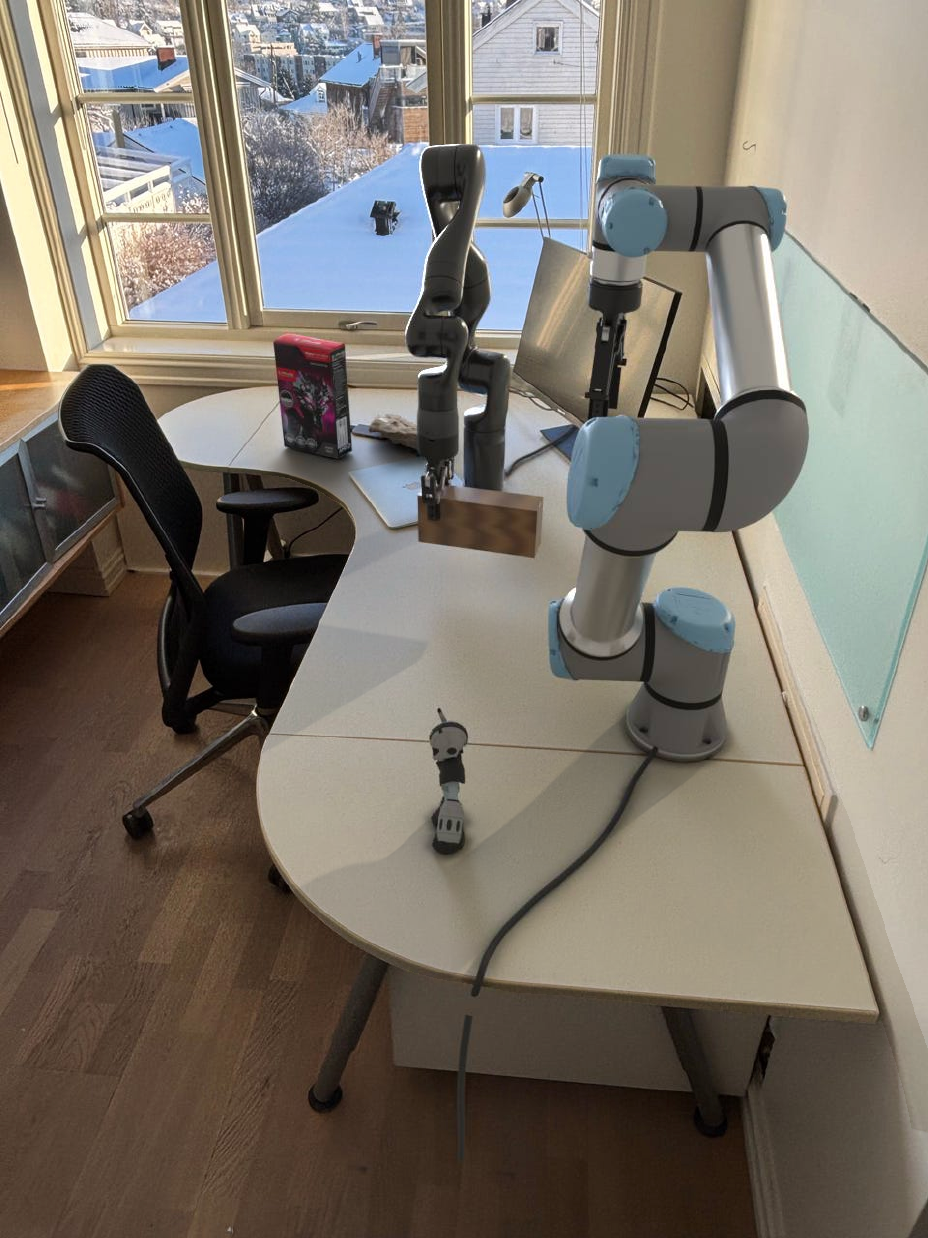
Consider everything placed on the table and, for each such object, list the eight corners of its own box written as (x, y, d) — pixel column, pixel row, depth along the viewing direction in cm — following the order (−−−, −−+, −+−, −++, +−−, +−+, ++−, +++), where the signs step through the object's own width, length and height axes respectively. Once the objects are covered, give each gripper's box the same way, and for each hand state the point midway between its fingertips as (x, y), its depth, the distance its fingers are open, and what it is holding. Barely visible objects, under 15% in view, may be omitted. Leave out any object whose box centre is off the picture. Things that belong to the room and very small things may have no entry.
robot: (470, 888, 117) (472, 772, 106) (432, 889, 117) (430, 773, 106) (463, 780, 133) (464, 669, 122) (429, 781, 133) (427, 670, 122)
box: (540, 543, 176) (543, 496, 170) (534, 558, 171) (537, 511, 166) (427, 527, 181) (426, 482, 175) (418, 541, 176) (417, 495, 171)
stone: (352, 437, 229) (357, 414, 227) (374, 429, 242) (378, 406, 240) (431, 462, 226) (437, 438, 223) (448, 452, 239) (454, 429, 237)
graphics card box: (282, 447, 232) (270, 339, 217) (298, 438, 237) (288, 331, 222) (338, 461, 225) (330, 350, 210) (354, 451, 230) (347, 342, 215)
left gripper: (429, 411, 172) (430, 493, 181) (405, 441, 160) (408, 527, 170) (468, 416, 170) (467, 498, 180) (446, 446, 159) (447, 532, 168)
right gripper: (602, 256, 139) (590, 392, 151) (574, 299, 119) (563, 452, 131) (652, 260, 137) (636, 397, 149) (632, 304, 117) (616, 458, 129)
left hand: (438, 511), depth 175 cm, fingers closed on box, 6 cm apart
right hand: (602, 423), depth 140 cm, fingers open, 13 cm apart
